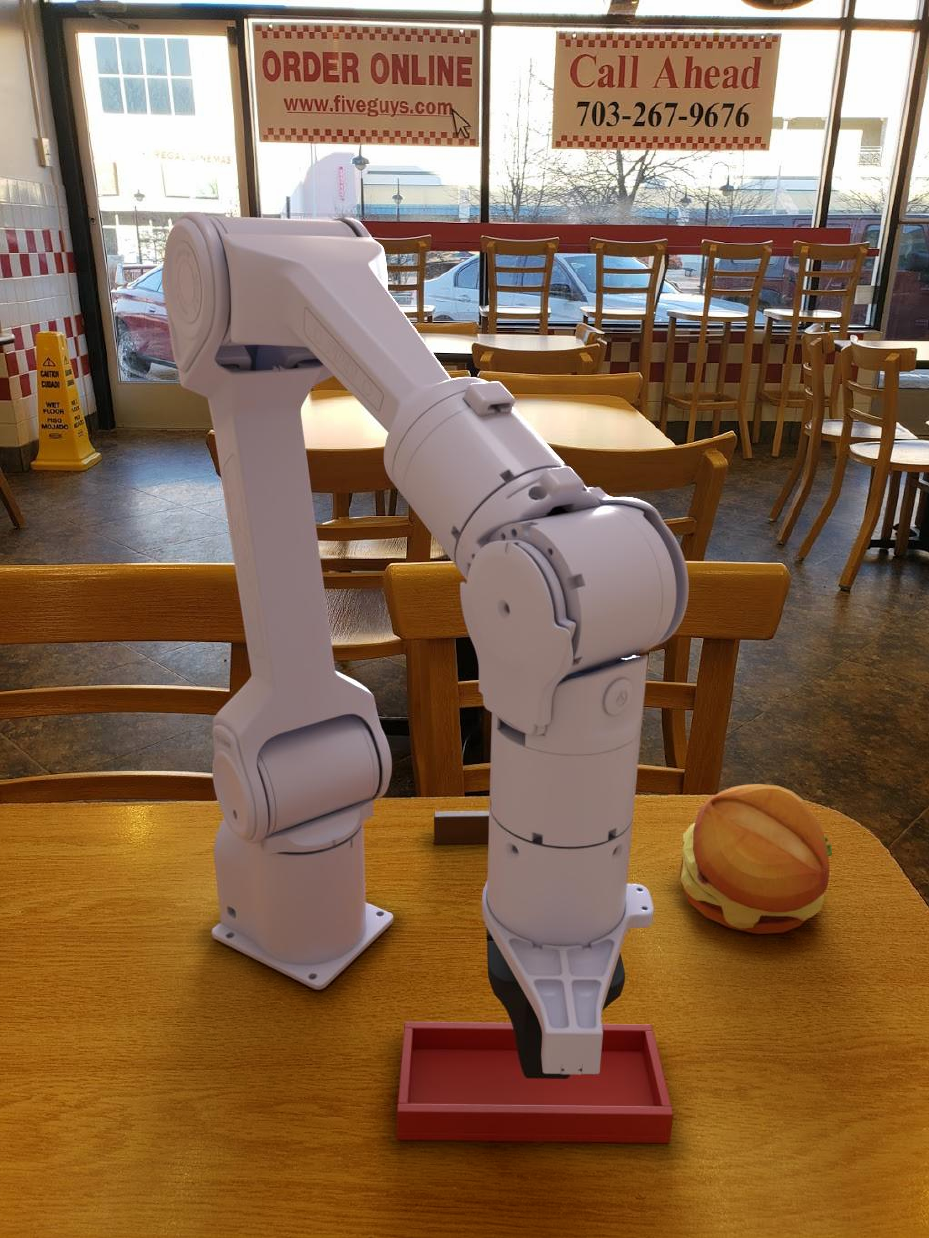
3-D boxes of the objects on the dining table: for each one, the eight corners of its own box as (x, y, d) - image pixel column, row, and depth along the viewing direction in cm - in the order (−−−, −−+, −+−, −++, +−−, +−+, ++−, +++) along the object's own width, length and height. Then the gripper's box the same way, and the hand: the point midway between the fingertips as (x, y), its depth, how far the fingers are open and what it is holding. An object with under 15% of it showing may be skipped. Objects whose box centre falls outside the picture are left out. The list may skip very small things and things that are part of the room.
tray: (670, 1143, 48) (673, 1114, 48) (397, 1140, 48) (397, 1111, 47) (648, 1050, 54) (651, 1024, 53) (404, 1048, 54) (404, 1021, 53)
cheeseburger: (801, 853, 72) (832, 758, 66) (832, 977, 63) (870, 880, 57) (667, 843, 72) (685, 747, 67) (679, 964, 64) (701, 866, 58)
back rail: (588, 841, 73) (590, 814, 72) (434, 844, 72) (434, 816, 71) (586, 835, 74) (588, 808, 73) (433, 838, 73) (433, 811, 72)
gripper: (704, 930, 31) (666, 1221, 36) (631, 723, 44) (611, 954, 49) (488, 927, 31) (480, 1219, 36) (481, 721, 44) (476, 953, 49)
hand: (545, 1066), depth 42 cm, fingers closed
